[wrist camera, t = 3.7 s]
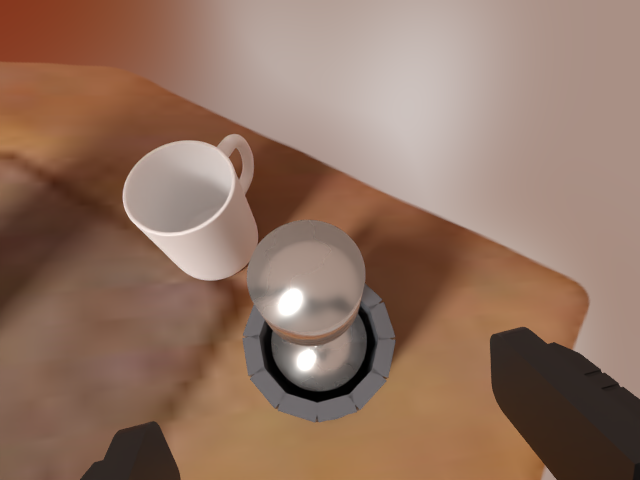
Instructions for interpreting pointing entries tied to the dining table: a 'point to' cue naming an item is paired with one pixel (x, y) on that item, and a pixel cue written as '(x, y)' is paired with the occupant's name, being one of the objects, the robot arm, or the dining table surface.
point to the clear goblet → (311, 302)
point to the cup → (195, 205)
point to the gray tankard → (327, 402)
